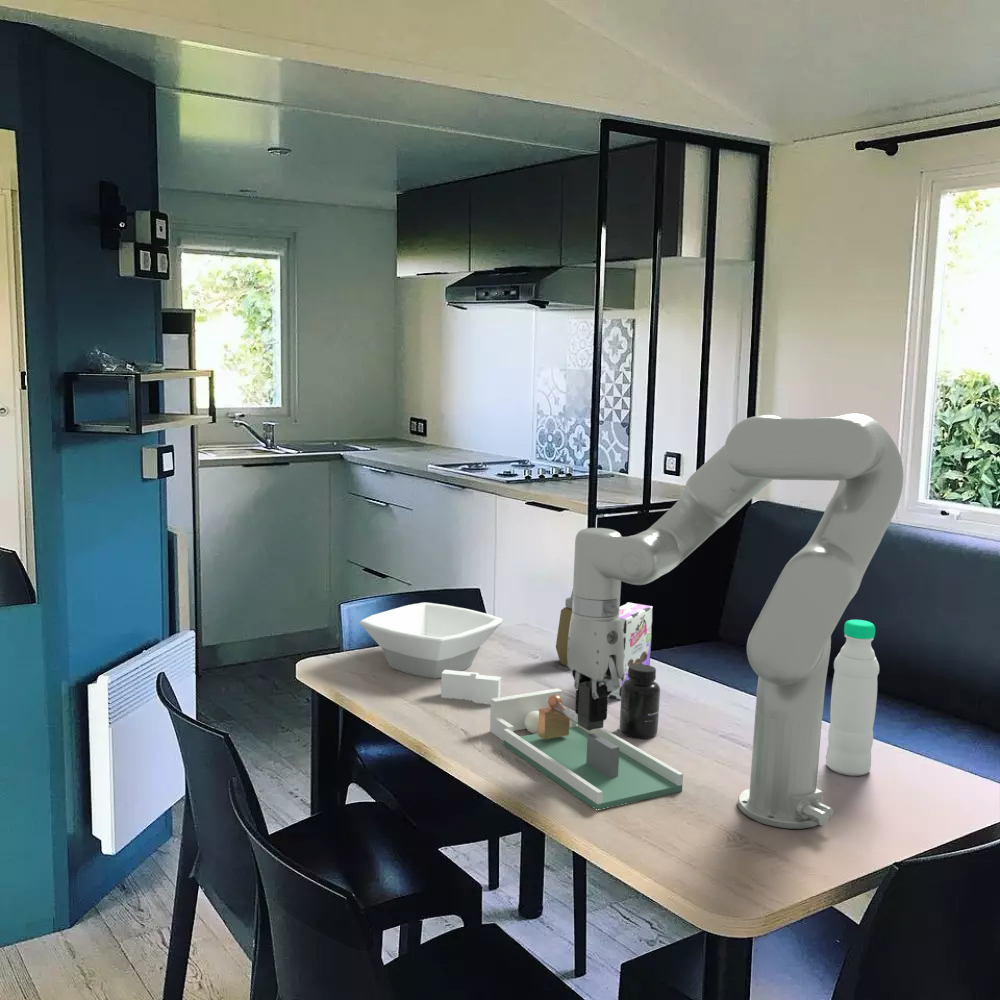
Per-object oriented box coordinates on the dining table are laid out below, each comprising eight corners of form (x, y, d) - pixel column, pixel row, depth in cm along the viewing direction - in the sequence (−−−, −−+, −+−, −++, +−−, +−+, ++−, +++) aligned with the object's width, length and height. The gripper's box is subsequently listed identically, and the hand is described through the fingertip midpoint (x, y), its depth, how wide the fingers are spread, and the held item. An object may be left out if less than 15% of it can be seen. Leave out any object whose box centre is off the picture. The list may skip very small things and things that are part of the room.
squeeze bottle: (593, 670, 218) (597, 587, 216) (555, 668, 218) (559, 586, 216) (590, 659, 226) (594, 579, 224) (554, 657, 226) (557, 578, 224)
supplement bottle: (656, 741, 179) (660, 675, 177) (617, 737, 180) (620, 671, 179) (658, 727, 186) (662, 663, 184) (620, 723, 187) (624, 660, 185)
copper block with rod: (606, 758, 167) (610, 684, 165) (581, 763, 164) (584, 689, 162) (561, 730, 178) (564, 661, 176) (537, 735, 176) (540, 665, 174)
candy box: (621, 700, 200) (625, 618, 197) (594, 694, 203) (598, 613, 200) (650, 682, 211) (654, 605, 209) (624, 677, 214) (628, 600, 212)
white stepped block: (424, 697, 199) (425, 669, 198) (470, 687, 206) (471, 659, 206) (472, 720, 188) (473, 690, 187) (519, 708, 195) (520, 679, 194)
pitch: (682, 790, 159) (684, 754, 158) (597, 810, 151) (599, 772, 150) (561, 719, 189) (562, 687, 188) (484, 732, 181) (485, 699, 180)
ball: (538, 708, 184) (541, 731, 183) (519, 712, 182) (521, 734, 181) (550, 709, 180) (552, 732, 180) (530, 712, 178) (533, 735, 178)
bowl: (348, 668, 214) (348, 621, 213) (423, 643, 235) (424, 599, 233) (439, 693, 201) (440, 642, 199) (511, 664, 221) (512, 617, 220)
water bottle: (816, 763, 172) (828, 618, 168) (849, 758, 174) (861, 615, 171) (845, 779, 165) (858, 629, 162) (879, 774, 168) (893, 626, 164)
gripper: (646, 616, 158) (640, 730, 161) (586, 592, 172) (581, 698, 175) (606, 620, 154) (600, 737, 157) (548, 596, 168) (544, 704, 171)
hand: (590, 715), depth 166 cm, fingers closed on copper block with rod, 3 cm apart
